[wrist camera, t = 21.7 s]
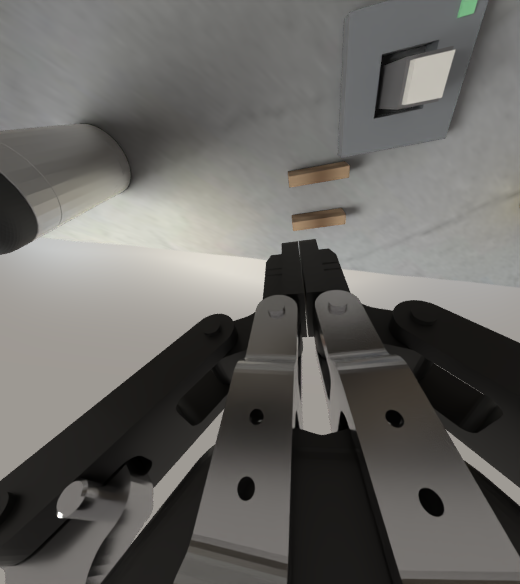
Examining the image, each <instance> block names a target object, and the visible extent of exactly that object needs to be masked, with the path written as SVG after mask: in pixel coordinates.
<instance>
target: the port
mask: <svg viewBox="0 0 520 584" xmlns="http://www.w3.org/2000/svg"><path fill="white" fill-rule="evenodd" d="M488 1H489V0H388V1H385V2H381V3H378V4H374V5H371V6H368V7H364V8H361V9H358V10H354V11H351V12H349V14H348V15H347V16H346V18H345V19H344V32H343V53H342V74H341V95H340V117H339V138H338V155H339V156H340V157H341V158H343V157H348V156H354V155H359V154H364V153H370V152H375V151H380V150H386V149H391V148H397V147H402V146H407V145H413V144H418V143H423V142H429V141H434V140H439V139H445V138H446V135H447V132H448V129H449V126H450V122H451V119H452V116H453V113H454V110H455V106H456V103H457V100H458V97H459V93H460V90H461V87H462V84H463V81H464V77H465V74H466V71H467V68H468V65H469V61H470V58H471V55H472V52H473V49H474V45H475V42H476V39H477V36H478V33H479V29H480V26H481V23H482V20H483V17H484V13H485V10H486V7H487V4H488ZM424 45H426V49H425V52H429V51H433V50H437V49H442V48H446V47H450V46H454V47H453V50H455V49H456V50H455V53H454V57H453V60H452V64H451V67H450V71H449V74H448V78H447V81H446V85H445V88H444V92H443V95H442V98H439V100H438V101H437V102H432V103H427V104H422V105H417V106H413V108H411V109H407V110H402V111H397V112H393V113H388V114H383V115H379V116H374V113H375V105H376V97H377V90H378V82H379V74H380V66H381V58H382V56H385V55H389V54H393V53H397V52H401V51H404V50H408V49H412V48H416V47H420V46H424Z"/></svg>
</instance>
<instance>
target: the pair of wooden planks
mask: <svg viewBox="0 0 520 584" xmlns="http://www.w3.org/2000/svg"><path fill="white" fill-rule="evenodd" d="M349 170H350V165H348V164H347V163H346V162H345V161H343V162H338V163H332V164H327V165H321V166H316V167H311V168H305V169H300V170H294V171H289V172H288V178H289V188H290V187H296V186H302V185H307V184H313V183H319V182H325V181H331V180H337V179H343V178H348V177H349ZM345 220H346V214H345V213H344V211H343V209H342V208H338V209H331V210H324V211H317V212H311V213H304V214H297V215H292V225H293V231H297V230H304V229H311V228H319V227H326V226H334V225H341V224H345Z"/></svg>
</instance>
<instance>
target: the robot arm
mask: <svg viewBox="0 0 520 584" xmlns="http://www.w3.org/2000/svg"><path fill="white" fill-rule="evenodd" d="M130 178H131V173H130V167H129V163H128V161H127V158H126V156H125V154H124V153H123V151H122V149H121V148H120V147H119V145H118V144H117V143H116V141H115V140H113V139H112V138H111V137H110V136H109V135H108V134H107V133H105V132H104V131H103V130H101V129H99V128H97V127H95V126H92V125H89V124H71V125H58V126H47V127H37V128H26V129H16V130H5V131H0V255H2V254H6V253H10V252H13V251H15V250H17V249H19V248H21V247H23V246H24V245H26V244H28V243H30V242H32V241H34V240H36V239H37V238H39V237H41V236H43V235H45V234H47V233H48V232H50V231H52V230H54V229H55V228H57V227H59V226H61V225H63V224H65V223H66V222H68V221H70V220H72V219H74V218H75V217H77V216H79V215H81V214H83V213H85V212H86V211H88V210H90V209H92V208H94V207H96V206H97V205H99V204H101V203H103V202H105V201H107V200H109V199H110V198H112V197H114V196H116V195H118V194H119V193H121V192H123V191H124V190H125V189H126V188H127V187H128V185H129V183H130ZM299 249H300V255H299ZM305 311H306V314H305ZM306 319H307V327H308V335H309V337H313V336H314V337H315V344H316V357H317V361H318V365H319V370H320V374H321V379H322V383H323V387H324V392H325V396H326V401H327V405H328V411H329V420H330V425H331V431H332V433H330V434H327V435H318V434H315V433H311V432H308V431H305V430H303V418H302V351H303V341H302V337H307V330H306ZM434 363H435V364H434ZM437 365H438V366H437ZM439 366H440V367H441V368H440V367H439ZM442 368H443V369H442ZM445 370H446V371H445ZM447 371H448V372H449V373H448V372H447ZM450 373H451V374H450ZM453 375H454V376H453ZM455 376H456V377H457V378H456V377H455ZM458 378H459V379H458ZM461 380H462V381H461ZM463 381H464V382H465V383H464V382H463ZM466 383H467V384H466ZM469 385H470V386H469ZM471 386H472V387H473V388H472V387H471ZM474 388H475V389H474ZM477 390H478V391H477ZM479 391H480V392H481V393H480V392H479ZM482 393H483V394H482ZM223 409H224V412H223V416H222V420H221V424H220V428H219V432H218V436H217V440H216V444H215V445H214V446H212V447H211V448H210V449H209V450H208V451H207V452H206V453H205V454H204V455H203V456H202V457H201V458H200V459H199V460H198V461H197V463H195V465H194V466H193V467H192V469H191V470H190V471H189V472H188V474H187V475H186V476H185V477H184V479H183V480H182V481H181V482H180V484H179V485H178V486H177V487H176V489H175V490H174V491H173V492H172V494H171V495H170V496H169V498H168V499H167V500H166V501H165V503H164V504H163V505H162V506H161V508H160V509H159V510H158V511H157V513H156V514H155V515H154V516H153V518H152V519H151V520H150V522H149V523H148V524H147V525H146V526H145V528H144V529H143V530H142V532H141V533H140V534H139V535H138V537H137V538H136V539H135V540H134V542H133V543H132V541H133V539H134V538H135V536H136V535H137V533H138V532H139V530H140V529H141V528H142V526H143V524H144V523H145V522H146V521H147V519H148V518H149V516H150V515H151V513H152V510H153V488H154V487H155V486H156V485H157V483H158V482H159V481H160V480H161V479H162V478H163V477H164V476H165V474H166V473H167V472H168V471H169V470H170V469H171V468H172V466H173V465H174V464H175V463H176V462H177V461H178V460H179V459H180V458H181V456H182V455H183V454H184V453H185V452H186V451H187V450H188V448H189V447H190V446H191V445H192V444H193V443H194V442H195V441H196V439H197V438H198V437H199V436H200V435H201V434H202V433H203V432H204V431H205V429H206V428H207V427H208V426H209V425H210V424H211V423H212V421H213V420H214V419H215V418H216V417H217V416H218V415H219V414H220V413H221V411H222V410H223ZM445 429H446V430H447V431H449V432H450V433H451V434H452V435H454V436H455V437H456V438H457V439H459V440H460V441H461V442H463V443H464V444H465V445H466V446H468V447H469V448H470V449H471V450H473V451H474V452H475V453H477V454H478V455H479V456H480V457H481V458H483V459H484V460H485V461H487V462H488V463H489V464H490V465H492V466H493V467H494V468H495V469H497V470H498V471H499V472H501V473H502V474H503V475H504V476H506V477H507V478H508V479H509V480H511V481H512V482H513V483H514V484H516V485H517V486H518V487H520V343H519V342H516V341H514V340H512V339H510V338H508V337H505V336H503V335H501V334H499V333H496V332H494V331H492V330H490V329H488V328H485V327H483V326H481V325H479V324H477V323H474V322H472V321H470V320H468V319H465V318H463V317H461V316H459V315H457V314H454V313H452V312H450V311H448V310H445V309H443V308H441V307H439V306H437V305H434V304H432V303H428V302H424V301H417V300H411V301H405V302H402V303H400V304H398V305H397V306H396V307H395V308H394V310H393V311H391V310H384V309H378V308H372V307H369V306H366V305H363V304H362V303H361V302H360V300H359V299H358V298H357V297H356V296H355V295H353V294H351V293H350V291H349V288H348V285H347V283H346V280H345V277H344V275H343V272H342V269H341V266H340V264H339V261H338V258H337V256H336V254H335V253H334V252H332V251H331V250H330V249H321V250H318V246H317V242H316V239H311V240H303V241H299V247H298V241H296V242H288V243H282V254H279V255H271V257H270V258H269V259H268V261H267V262H266V271H265V282H264V293H263V300H262V301H261V302H260V303H259V304H258V306H257V308H256V312H254V313H253V314H251V315H250V316H248V317H245V318H242V319H239V320H236V321H232V319H231V318H230V317H229V316H227V315H224V314H214V315H211V316H208V317H206V318H204V319H203V320H201V321H200V322H199V323H197V324H196V325H195V326H194V327H192V328H191V329H190V330H189V331H187V332H186V333H185V334H184V335H182V336H181V337H180V338H179V339H177V340H176V341H175V342H174V343H173V344H171V345H170V346H169V347H167V348H166V349H165V350H164V351H162V352H161V353H160V354H159V355H157V356H156V357H155V358H154V359H152V360H151V361H150V362H149V363H147V364H146V365H145V366H144V367H142V368H141V369H140V370H139V371H137V372H136V373H135V374H134V375H132V376H131V377H130V378H129V379H127V380H126V381H125V382H124V383H122V384H121V385H120V386H119V387H117V388H116V389H115V390H113V391H112V392H111V393H110V394H109V395H107V396H106V397H105V398H103V399H102V400H101V401H100V402H98V403H97V404H96V405H95V406H94V407H92V408H91V409H90V410H88V411H87V412H86V413H85V414H83V415H82V416H81V417H80V418H78V419H77V420H76V421H75V422H73V423H72V424H71V425H70V426H68V427H67V428H66V429H65V430H63V431H62V432H61V433H60V434H59V435H57V436H56V437H55V438H53V439H52V440H51V441H50V442H48V443H47V444H46V445H45V446H43V447H42V448H41V449H40V450H38V451H37V452H36V453H35V454H33V455H32V456H31V457H30V458H28V459H27V460H26V461H25V462H23V463H22V464H21V465H20V466H18V467H17V468H16V469H15V470H13V471H12V472H11V473H10V474H8V475H7V476H6V477H5V478H3V479H2V480H1V481H0V567H1V568H2V569H4V571H5V578H6V584H520V506H519V505H518V504H517V503H516V502H514V501H513V500H512V499H511V498H510V497H508V496H507V495H506V494H505V493H504V492H503V491H501V489H499V488H498V487H497V486H496V485H495V484H493V483H492V482H491V481H490V480H489V479H488V478H486V477H485V476H484V475H483V474H481V473H480V472H479V471H478V470H476V469H475V468H474V467H472V466H471V465H470V464H468V463H467V462H466V461H464V460H463V459H462V457H461V455H460V454H459V452H458V450H457V448H456V447H455V445H454V443H453V442H452V440H451V438H450V436H449V435H448V433H447V431H446V430H445ZM131 543H132V544H131ZM129 546H130V547H129Z"/></svg>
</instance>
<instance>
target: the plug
mask: <svg viewBox="0 0 520 584" xmlns="http://www.w3.org/2000/svg"><path fill="white" fill-rule="evenodd" d="M453 47H454V46H450V47H446V48H442V49H437V50H433V51H429V52H425V53H420V54H416V55H412V56H408V57H405V58H402V59H400V60H397V61H395V62H392V63H389V64H387V65H384V66H382V67H380V74H379V82H378V90H377V97H376V105H375V109H402V108H407V107H412V106H417V105H422V104H427V103H432V102H437V101H438V100H439V98H442V95H443V92H444V88H445V85H446V81H447V78H448V74H449V71H450V67H451V64H452V60H453V57H454V53H455V50H456V49H455V50H453Z"/></svg>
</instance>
